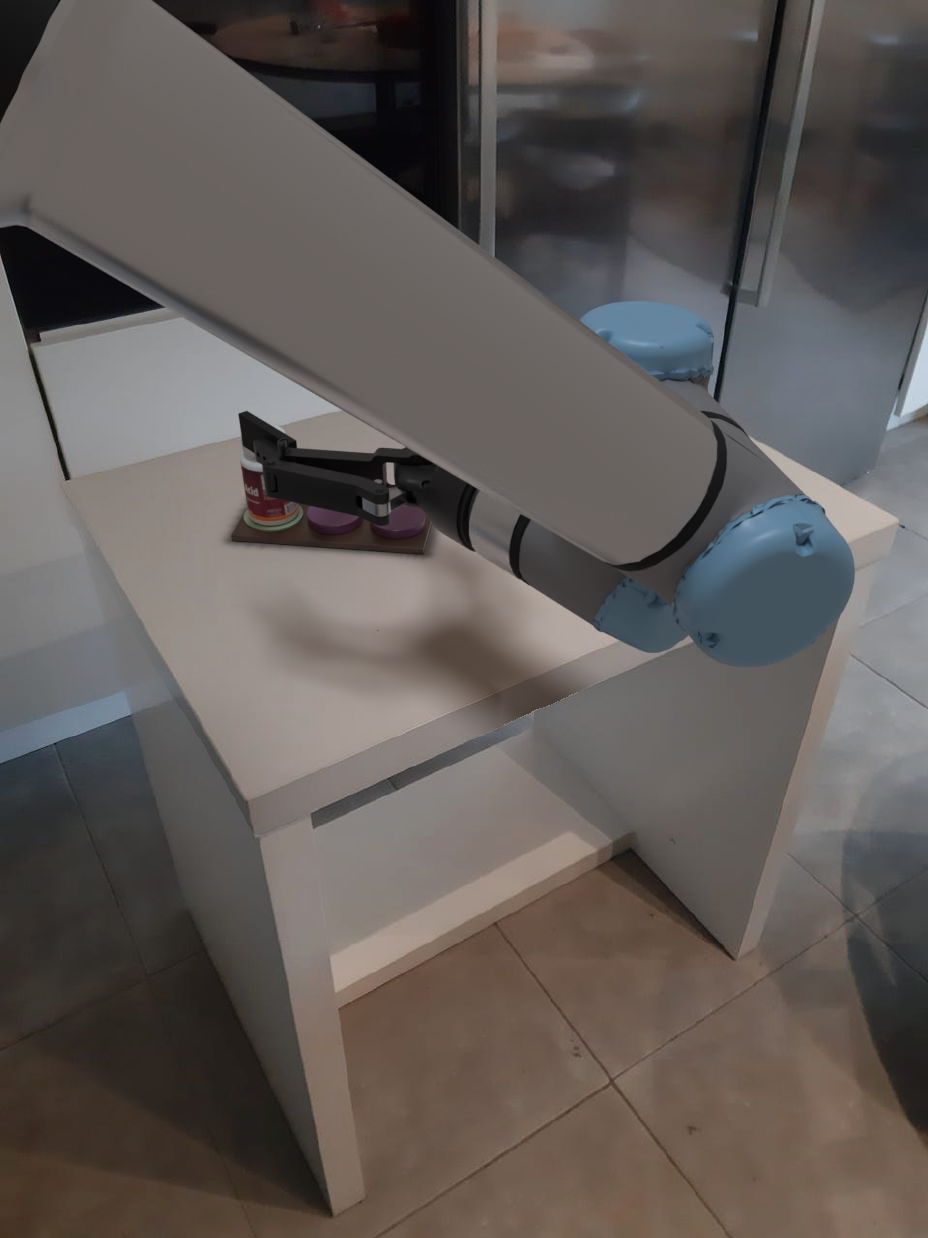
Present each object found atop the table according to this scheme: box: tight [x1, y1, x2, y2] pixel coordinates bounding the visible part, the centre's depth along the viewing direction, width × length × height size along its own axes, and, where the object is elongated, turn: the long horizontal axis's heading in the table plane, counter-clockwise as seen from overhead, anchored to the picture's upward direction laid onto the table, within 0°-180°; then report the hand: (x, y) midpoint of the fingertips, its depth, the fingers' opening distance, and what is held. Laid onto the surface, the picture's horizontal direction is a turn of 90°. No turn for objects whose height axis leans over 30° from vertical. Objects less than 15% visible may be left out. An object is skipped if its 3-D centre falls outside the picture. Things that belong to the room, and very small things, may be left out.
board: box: [230, 503, 433, 555], centre depth 93 cm, size 18×8×2 cm, turn 83°
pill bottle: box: [239, 424, 299, 526], centre depth 91 cm, size 5×5×8 cm
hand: (317, 402), depth 78 cm, fingers open, 13 cm apart
